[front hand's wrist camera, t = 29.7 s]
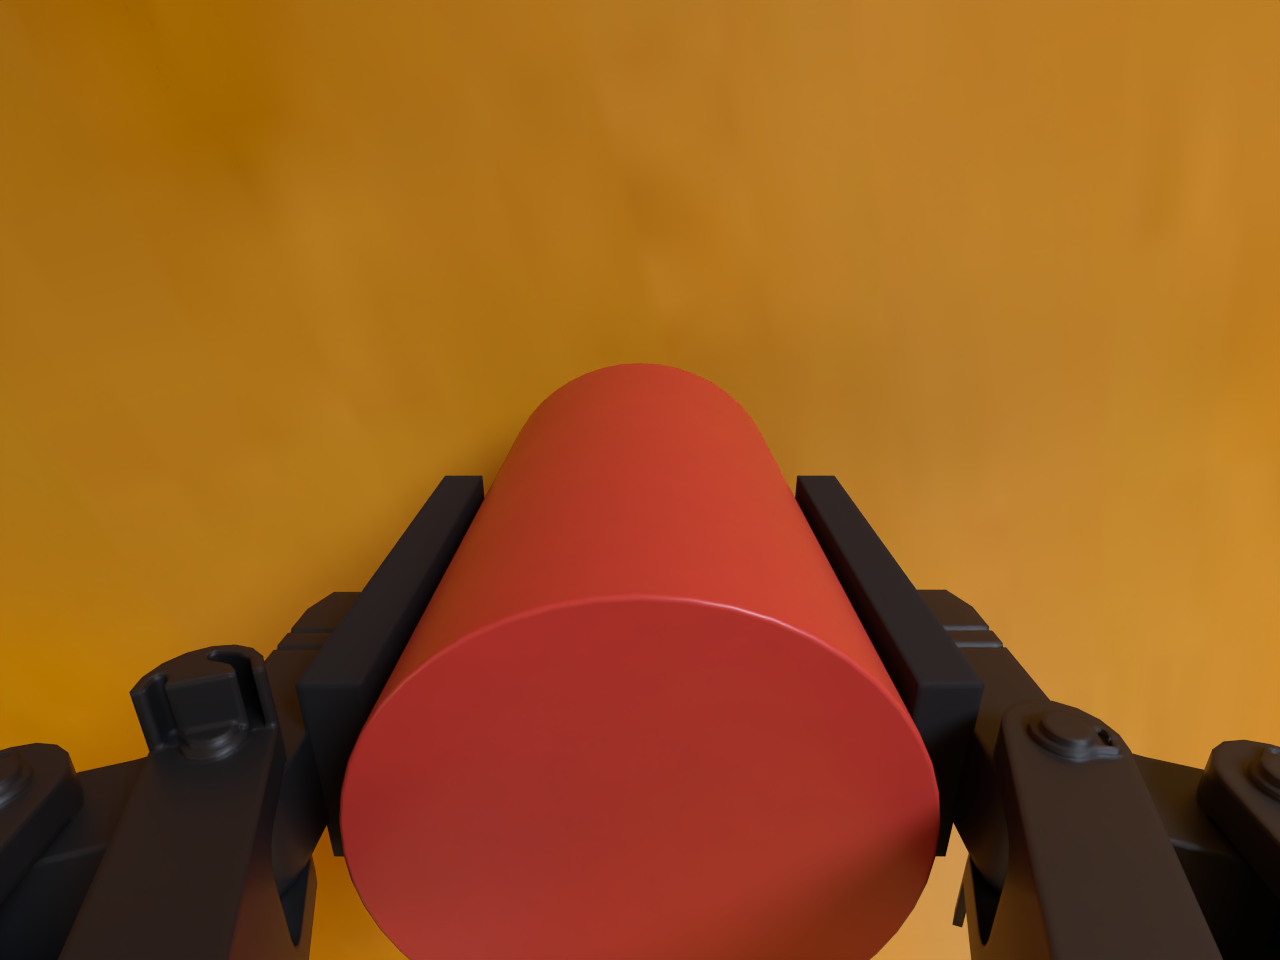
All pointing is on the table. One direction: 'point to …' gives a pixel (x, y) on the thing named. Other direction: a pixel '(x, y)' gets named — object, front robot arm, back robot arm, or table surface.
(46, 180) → the table surface
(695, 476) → the canister
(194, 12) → the table surface
